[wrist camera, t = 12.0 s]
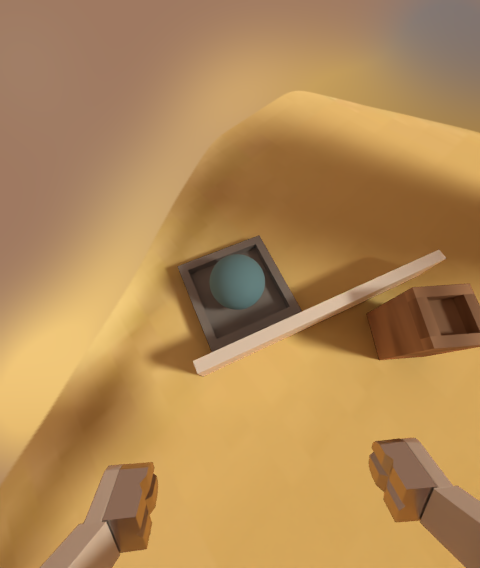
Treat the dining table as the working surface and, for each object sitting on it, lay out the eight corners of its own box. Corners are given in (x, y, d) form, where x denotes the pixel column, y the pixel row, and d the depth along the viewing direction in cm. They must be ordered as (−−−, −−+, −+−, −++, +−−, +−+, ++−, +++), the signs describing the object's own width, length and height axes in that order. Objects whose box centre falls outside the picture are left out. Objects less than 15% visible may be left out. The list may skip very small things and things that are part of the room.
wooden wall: (411, 268, 27) (439, 249, 24) (417, 276, 27) (446, 258, 23) (199, 365, 23) (192, 361, 19) (203, 376, 23) (197, 373, 19)
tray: (258, 241, 28) (259, 235, 27) (298, 314, 25) (301, 310, 24) (179, 271, 26) (177, 266, 25) (212, 353, 23) (211, 351, 22)
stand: (409, 310, 25) (469, 283, 19) (425, 356, 24) (496, 343, 17) (366, 313, 25) (412, 287, 19) (379, 360, 24) (434, 348, 17)
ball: (250, 262, 27) (251, 235, 22) (271, 303, 25) (277, 283, 20) (205, 280, 26) (196, 256, 21) (224, 324, 24) (219, 309, 20)
